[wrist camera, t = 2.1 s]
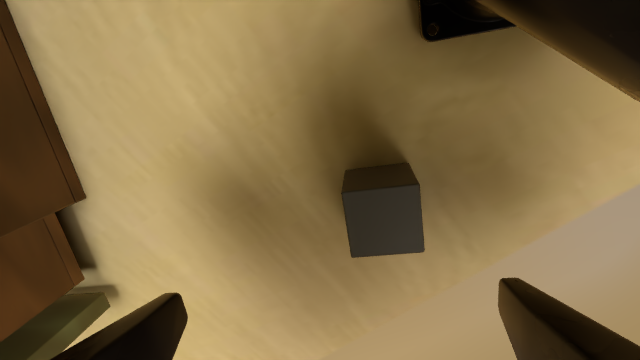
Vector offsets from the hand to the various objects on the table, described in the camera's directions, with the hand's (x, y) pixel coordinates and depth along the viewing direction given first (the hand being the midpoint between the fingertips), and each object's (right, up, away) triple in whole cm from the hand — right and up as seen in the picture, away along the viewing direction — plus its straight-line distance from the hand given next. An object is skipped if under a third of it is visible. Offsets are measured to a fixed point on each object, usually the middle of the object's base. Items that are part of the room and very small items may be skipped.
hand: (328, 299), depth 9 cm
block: (+3, +2, +9) cm, 10 cm away
